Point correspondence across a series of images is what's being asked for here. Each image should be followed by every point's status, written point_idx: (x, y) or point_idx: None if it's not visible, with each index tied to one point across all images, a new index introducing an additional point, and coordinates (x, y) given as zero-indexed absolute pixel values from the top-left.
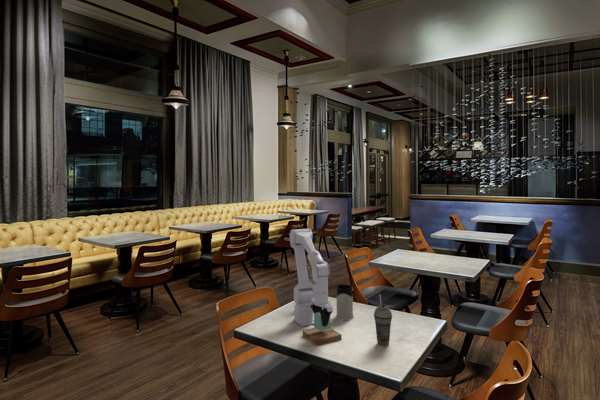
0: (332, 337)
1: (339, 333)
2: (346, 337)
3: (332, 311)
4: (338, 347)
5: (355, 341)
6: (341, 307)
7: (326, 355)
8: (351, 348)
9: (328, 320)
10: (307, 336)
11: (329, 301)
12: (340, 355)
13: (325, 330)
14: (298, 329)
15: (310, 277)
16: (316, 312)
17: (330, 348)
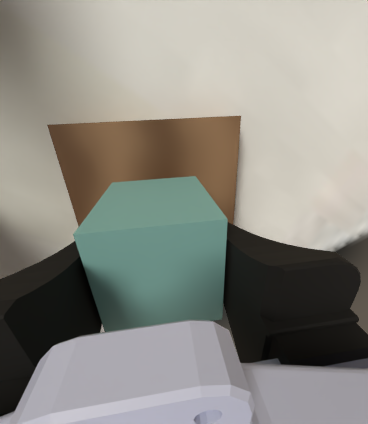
0: (234, 180)
1: (221, 118)
2: (224, 70)
3: (336, 255)
4: (288, 180)
5: (296, 52)
6: None
7: (305, 247)
8: (334, 131)
9: (231, 226)
10: None
11: (249, 415)
12: (339, 206)
13: (141, 176)
14: (23, 259)
15: None
16: (104, 317)
17: (274, 213)
